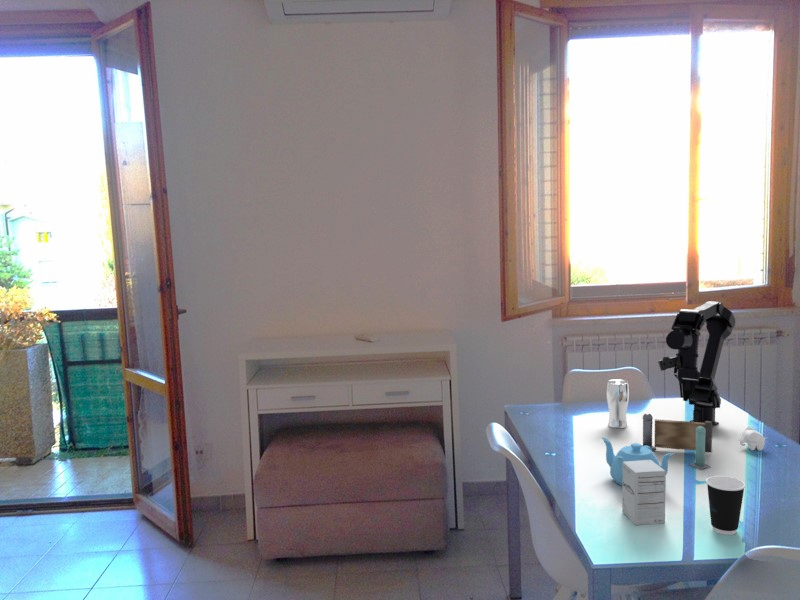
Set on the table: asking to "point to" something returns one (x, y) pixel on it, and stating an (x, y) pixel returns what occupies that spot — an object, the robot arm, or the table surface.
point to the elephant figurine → (752, 439)
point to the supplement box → (643, 492)
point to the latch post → (700, 449)
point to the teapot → (630, 458)
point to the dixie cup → (725, 503)
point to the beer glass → (617, 403)
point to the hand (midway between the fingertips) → (683, 399)
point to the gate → (681, 434)
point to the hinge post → (647, 431)
